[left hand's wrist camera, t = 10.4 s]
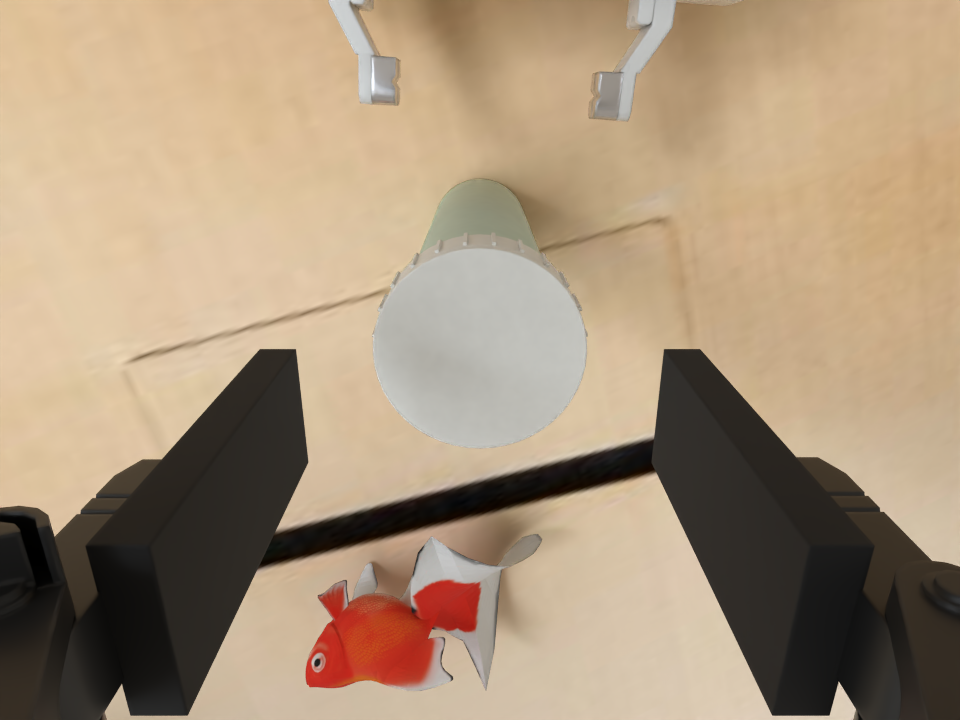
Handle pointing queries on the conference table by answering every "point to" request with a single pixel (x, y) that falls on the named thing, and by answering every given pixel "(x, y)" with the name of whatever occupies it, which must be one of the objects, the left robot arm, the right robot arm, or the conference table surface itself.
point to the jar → (479, 214)
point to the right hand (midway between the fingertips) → (494, 112)
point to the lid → (480, 342)
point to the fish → (412, 621)
